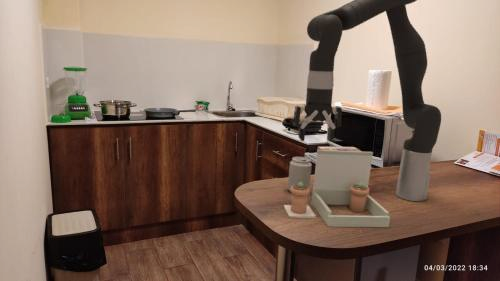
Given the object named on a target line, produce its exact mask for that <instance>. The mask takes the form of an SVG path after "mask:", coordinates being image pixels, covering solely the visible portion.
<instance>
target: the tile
mask: <svg viewBox="0 0 500 281" xmlns="http://www.w3.org/2000/svg"><path fill="white" fill-rule="evenodd" d="M283 209H284V211H285V212H286V215H287V217H288V218H289V219H293V218H294V219H316V218H317V217H316V216H317V215H316V214H315V212H313V209H312V208H311V207H310V206H309V205H308V204H307V210H306V213H303V214H298V213H294V212H292V211H291V210H290V209H291V204H290V205H289V204H283Z"/></svg>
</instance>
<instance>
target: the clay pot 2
mask: <svg viewBox="0 0 500 281" xmlns="http://www.w3.org/2000/svg"><path fill="white" fill-rule="evenodd" d="M350 192H351V198H350V205H348V206H349V207H348V209H349V210H350V211H352V212H354V213H364V212H365V211H366V208H365V205H366V199H367V195H369V196H370V188H369V186H368V187H365V186H363V183H361V182H359V183H358V184H357V185H351V186H350Z"/></svg>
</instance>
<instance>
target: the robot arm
mask: <svg viewBox="0 0 500 281" xmlns="http://www.w3.org/2000/svg"><path fill="white" fill-rule="evenodd" d="M416 1H418V0H352V1H349V2H347V3H346V4H344V5H342V6H340V7H338V8H336V9H333V10H329V11H327V12H324V13H322V14H319V15H317V16H314V17H313V18H311V20H310V21H309V22H308V23H307V27H306V32H307V36H308V37H309V38H310V39H311V40H312V41H315V42H318V45H317V48H316V49H314V50H313V51H311V53H310V56H309V65H308V75H307V83H306V95H305V96H306V97H305V105H304V106H299V105H296V106H294V113H293V119H292V120H293V122H292V125H293V126H294V127H296V128H298V138H299V140H300V141H301V142H305V138H306V136H305V135H306V129H305V127H307V126H308V125H309V123H311V122H325V123H326V124H327V126H328V127H327V139H326V140H327V141H328V142H332V141H333V140H334V138H335V130H336V128H341V127H342V117H343V115H342V112H343V108H342V107H340V106H337V105H336V106H332V102H333V91H334V85H335V84H334V78H335V77H334V69H335V57H336V54H337V52H338V49H339V45H340V43H341V39H342V35H343V32H344V31H348V30H352V29H354V28H356V27H357V26H360V25H361V24H364V23H365V22H367V21H369V20H371V19H373V18H375V17H377V16H378V15H381V14H383V13H384V12H385V13H386V16H387V21H388V24H389V29H390V33H391V34H390V35H391V38H392V39H391V40H392V43H393V49H394V57H395V62H396V67H397V71H398V78H399V85H400V91H401V106H402V119H403V122H404V123H405V125H406V126H407V127H408V128H410V129H412V130H413V134H412V137H411V138H408V139H406V140H404V141H403V144H402V145H403V147H402V152H401V153H402V154H401V159H400V163H399V164H400V167H399V171H398V178H397V183H396V184H397V185H396V190H395V195H396V196H397V197H398V198H400V199H403V200H406V201H409V202H410V201H412V202H422V201H426V200H427V196H428V192H429V187H430V180H431V176H432V175H431V173H430V172H429V170H430V166H431V165H430V164H431V161H432V160H431V159H432V153H433V149H434V147H435V146H436V144H437V142H438V137H439V132H440V128H441V123H442V113H441V110H440V109H439V108H438V106H435V105H432V104H426V103H425V102H424V98H423V91H422V88H423V87H422V86H423V81H424V78H425V76H426V73H427V69H428V56H427V49H426V44H425V41H424V40H423V38H422V37H421V35H420V34H419V32H418V31H417V30H416V29H415V27H414V26H413V24H412V23H411V21H410V19H409V17H408V11H407V7H406V5H409V4H413V3H415V2H416ZM303 112H305V116H304V117H303V118H302V120H301V119H300V118H301V114H303ZM332 113H333V114H334V122H333V120H332V118H331V117H330V115H331V114H332ZM300 120H301V121H300Z"/></svg>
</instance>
